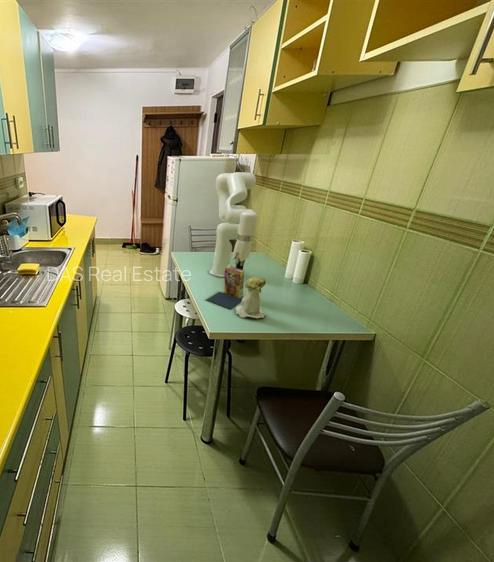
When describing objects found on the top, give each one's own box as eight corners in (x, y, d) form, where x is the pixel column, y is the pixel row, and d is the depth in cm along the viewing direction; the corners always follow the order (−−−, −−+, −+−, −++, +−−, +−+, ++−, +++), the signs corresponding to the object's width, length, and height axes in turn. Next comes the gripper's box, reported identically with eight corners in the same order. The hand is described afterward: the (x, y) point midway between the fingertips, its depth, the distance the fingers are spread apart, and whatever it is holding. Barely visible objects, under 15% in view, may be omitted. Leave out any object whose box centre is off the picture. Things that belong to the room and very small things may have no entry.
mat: (219, 292, 163) (219, 291, 163) (242, 300, 155) (243, 299, 155) (206, 300, 154) (206, 299, 154) (230, 309, 146) (230, 308, 146)
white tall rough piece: (268, 321, 136) (278, 284, 129) (239, 319, 137) (247, 282, 129) (259, 308, 147) (267, 273, 140) (232, 307, 148) (239, 272, 140)
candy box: (243, 294, 159) (245, 270, 150) (239, 298, 157) (240, 274, 148) (228, 288, 165) (229, 265, 157) (223, 292, 163) (224, 268, 155)
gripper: (244, 233, 156) (237, 267, 163) (230, 238, 146) (224, 274, 153) (258, 236, 151) (251, 270, 159) (246, 242, 141) (239, 278, 149)
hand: (238, 272), depth 156 cm, fingers closed
